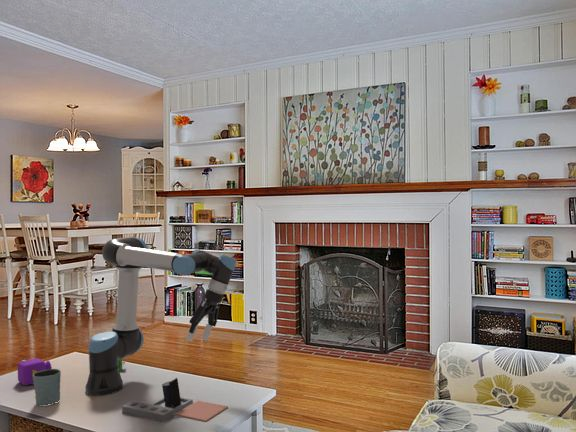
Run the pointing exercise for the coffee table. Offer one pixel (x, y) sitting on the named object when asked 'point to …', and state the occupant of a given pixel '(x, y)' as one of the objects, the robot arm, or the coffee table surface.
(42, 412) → the coffee table surface
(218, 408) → the mat
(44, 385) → the grey-green cup
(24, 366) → the toy camera
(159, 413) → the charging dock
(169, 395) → the speaker
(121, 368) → the geometric puzzle
